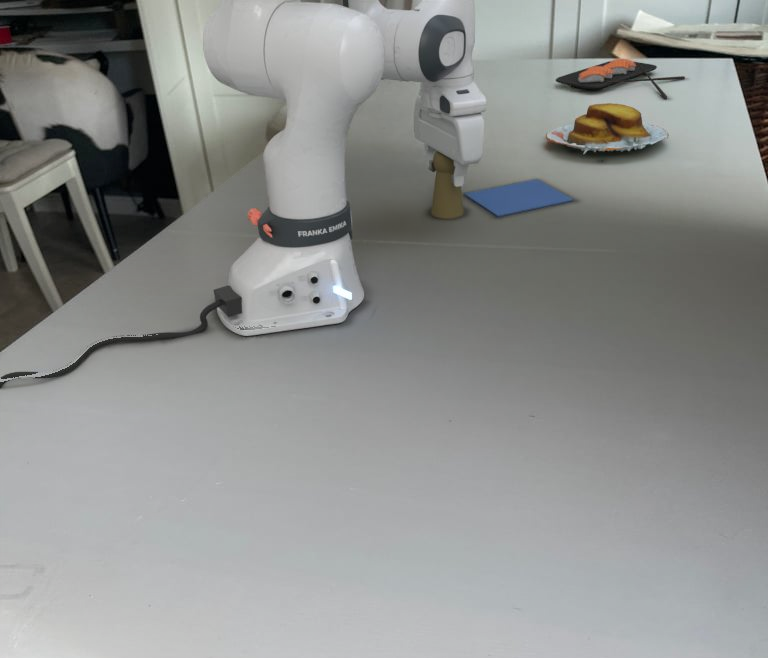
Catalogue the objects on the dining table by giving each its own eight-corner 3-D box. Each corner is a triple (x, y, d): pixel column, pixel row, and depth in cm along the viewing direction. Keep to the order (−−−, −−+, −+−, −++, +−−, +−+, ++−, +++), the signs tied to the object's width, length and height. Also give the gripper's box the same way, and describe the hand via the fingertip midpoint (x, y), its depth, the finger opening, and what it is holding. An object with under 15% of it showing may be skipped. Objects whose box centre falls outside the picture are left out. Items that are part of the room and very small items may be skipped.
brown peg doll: (461, 219, 146) (462, 155, 139) (428, 218, 147) (428, 154, 140) (465, 206, 150) (467, 144, 143) (433, 206, 151) (433, 144, 144)
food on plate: (531, 158, 170) (533, 124, 166) (562, 125, 187) (564, 94, 183) (655, 168, 161) (661, 133, 157) (675, 133, 178) (681, 100, 174)
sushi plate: (615, 66, 227) (617, 51, 224) (712, 81, 210) (715, 65, 207) (550, 87, 213) (551, 71, 210) (648, 106, 195) (651, 88, 193)
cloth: (497, 217, 146) (497, 215, 146) (464, 195, 155) (464, 193, 155) (573, 200, 150) (573, 199, 150) (536, 180, 159) (536, 179, 159)
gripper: (404, 82, 142) (405, 164, 150) (457, 107, 127) (455, 197, 136) (436, 78, 143) (436, 159, 152) (492, 102, 129) (488, 191, 138)
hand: (445, 177), depth 144 cm, fingers open, 8 cm apart
